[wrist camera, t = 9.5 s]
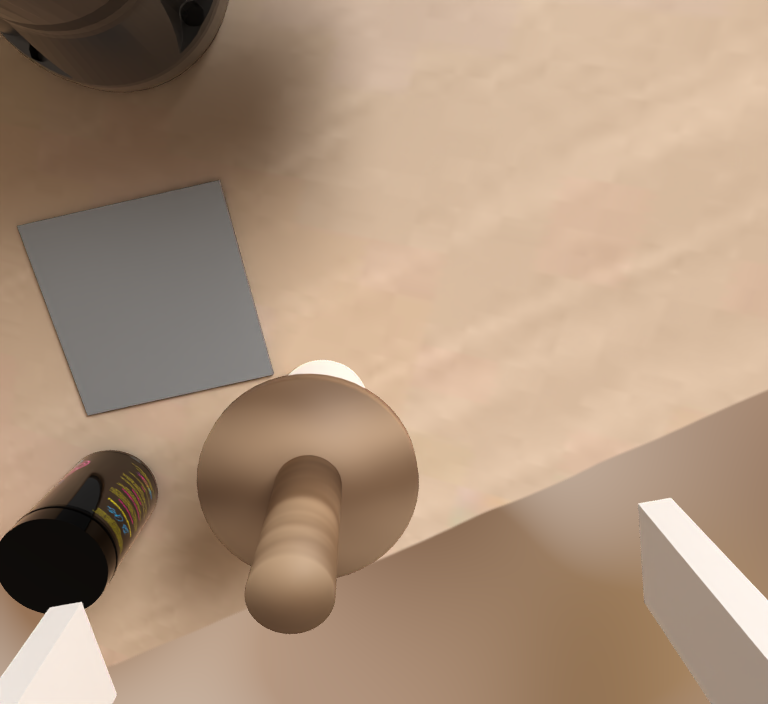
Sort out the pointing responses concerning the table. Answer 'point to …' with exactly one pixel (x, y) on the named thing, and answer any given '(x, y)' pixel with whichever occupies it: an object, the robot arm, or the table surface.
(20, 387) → the table surface
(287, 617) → the lid
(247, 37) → the table surface
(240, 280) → the mat
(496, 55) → the table surface
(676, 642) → the robot arm
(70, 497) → the supplement container
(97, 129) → the table surface
